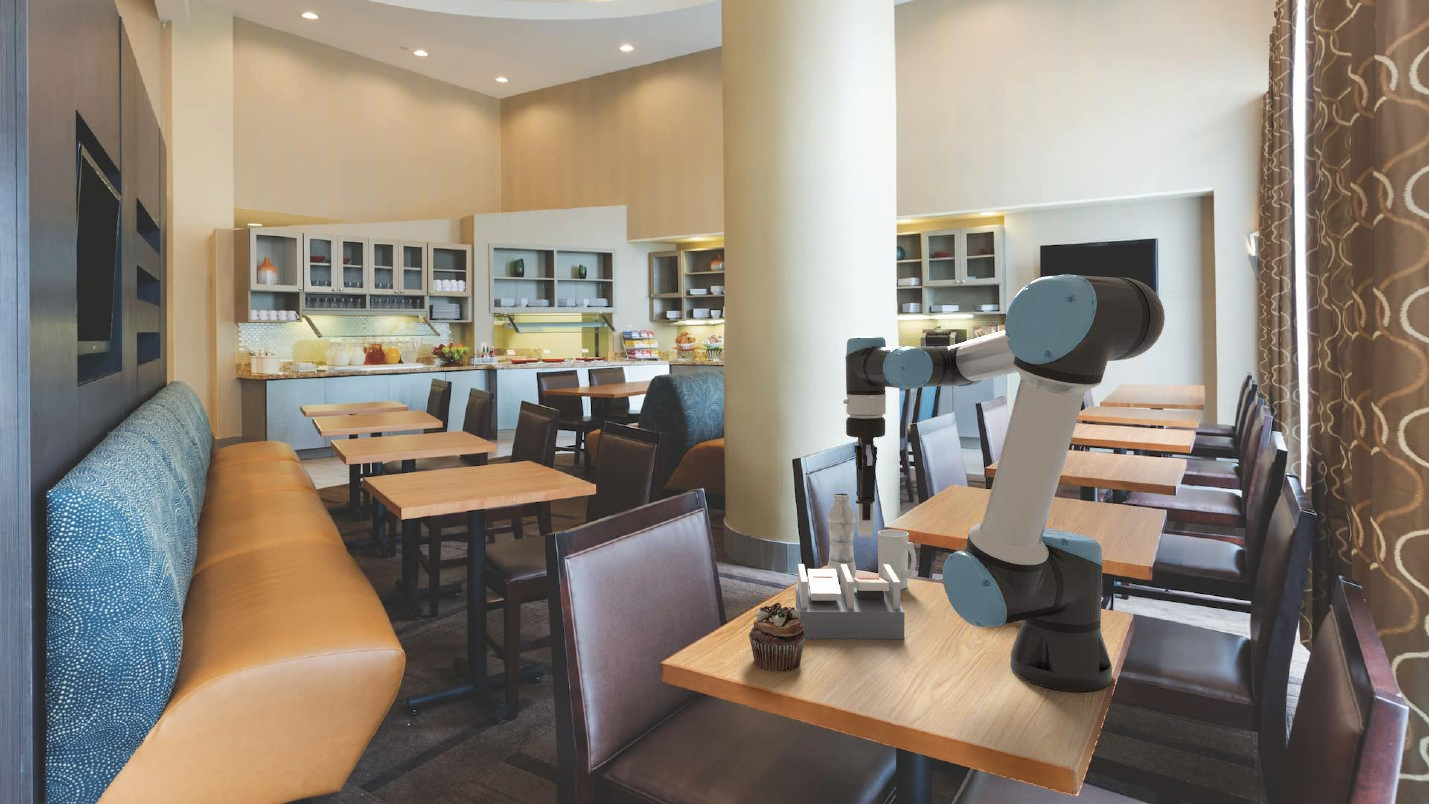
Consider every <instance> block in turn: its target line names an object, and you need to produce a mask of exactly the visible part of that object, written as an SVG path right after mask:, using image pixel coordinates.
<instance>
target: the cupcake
mask: <svg viewBox="0 0 1429 804" xmlns="http://www.w3.org/2000/svg"><path fill="white" fill-rule="evenodd" d="M755 616H756V619H754V621H753V627H752V628H751V630H750V631H749V632H748V638H749V642H750V647H751V651H752V656H753V663H754V665H756V667H757V668H759V669H763V670H766V671H769V672H776V671H778V672H779V673H780V672H781V671H782V672H788V671H787V670H789V671H793V670H795V669H797V668H798V667H799V666H800V665H801V660H802V655H803V649H804V644H805V642H806V638H805V633H804V628H803V624H802V621H801V620H800V618H799V610H798V609H796V607H794V606H792V607H791V606H788V607H787V606H784V607H783V608H782V604H781V603H780V602H776V603H774V604H773V605H772V606H768V605H765V606H763V607H760V608H759V610H758V611H757V612H755ZM782 672H781V673H782Z"/></svg>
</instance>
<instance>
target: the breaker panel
mask: <svg viewBox="0 0 1429 804" xmlns="http://www.w3.org/2000/svg"><path fill="white" fill-rule="evenodd" d="M883 580H885V581H887V582H889V591H859V590H858V589H857V588H855V587H854V581H853V578H852V576H851V574H850V571H849V569H848V567H847V564H840V581H839V582H840V584H839V588H840V592H841V601H834V600H811V596H810V589H809V582H808V574H807V572H806V567H805V564H804V563H797V585H795V609H798V610H799V618H800V620H801V621H802V624H803V628H804V633H805V639H827V640H828V639H839V640H840V639H842V640H843V639H845V640H846V639H847V640H849V639H850V640H851V639H852V640H857V639H858V640H859V639H860V640H863V639H865V640H905V611H904V609H903V607H902V605H901V589H900V581H899V579H898V578H897V576H896V574H895V573H894V571H893V570H892V568H891V566H890V565H889V564H883Z"/></svg>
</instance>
